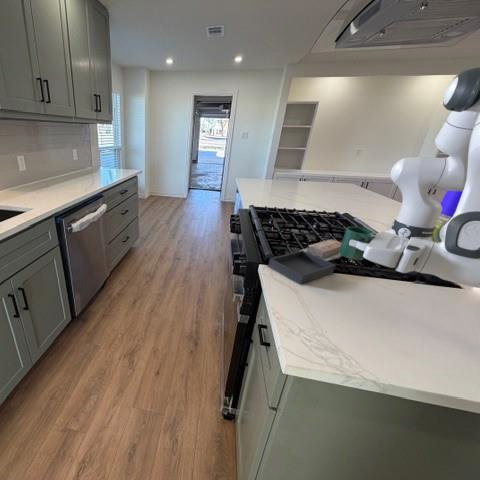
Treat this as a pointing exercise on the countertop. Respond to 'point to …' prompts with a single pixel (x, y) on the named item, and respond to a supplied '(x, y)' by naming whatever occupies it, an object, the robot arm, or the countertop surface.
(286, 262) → the baking tray
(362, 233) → the enamel cup
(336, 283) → the countertop surface
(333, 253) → the packaged product
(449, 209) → the bottle
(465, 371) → the countertop surface
